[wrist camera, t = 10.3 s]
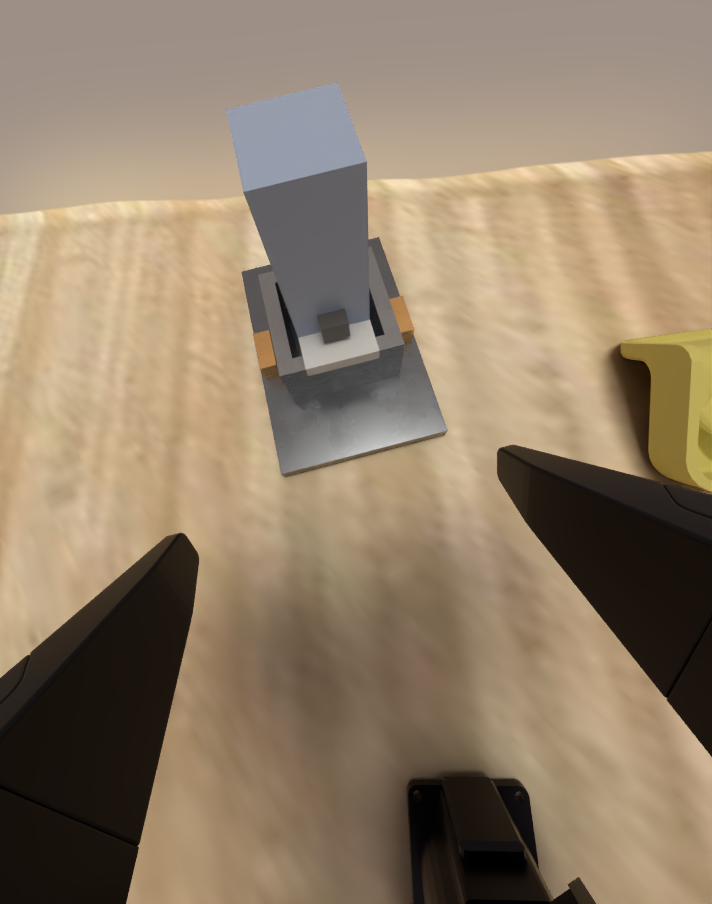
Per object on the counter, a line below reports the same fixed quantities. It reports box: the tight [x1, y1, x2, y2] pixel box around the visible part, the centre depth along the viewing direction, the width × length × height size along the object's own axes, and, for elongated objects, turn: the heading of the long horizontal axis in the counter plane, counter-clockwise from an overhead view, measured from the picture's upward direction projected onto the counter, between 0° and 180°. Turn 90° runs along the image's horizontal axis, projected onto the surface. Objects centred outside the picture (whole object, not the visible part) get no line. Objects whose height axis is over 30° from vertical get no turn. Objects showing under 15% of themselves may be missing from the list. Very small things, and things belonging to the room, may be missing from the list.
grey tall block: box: [226, 83, 379, 376], centre depth 18 cm, size 9×4×13 cm, turn 14°
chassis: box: [242, 237, 448, 477], centre depth 23 cm, size 18×12×5 cm, turn 14°
